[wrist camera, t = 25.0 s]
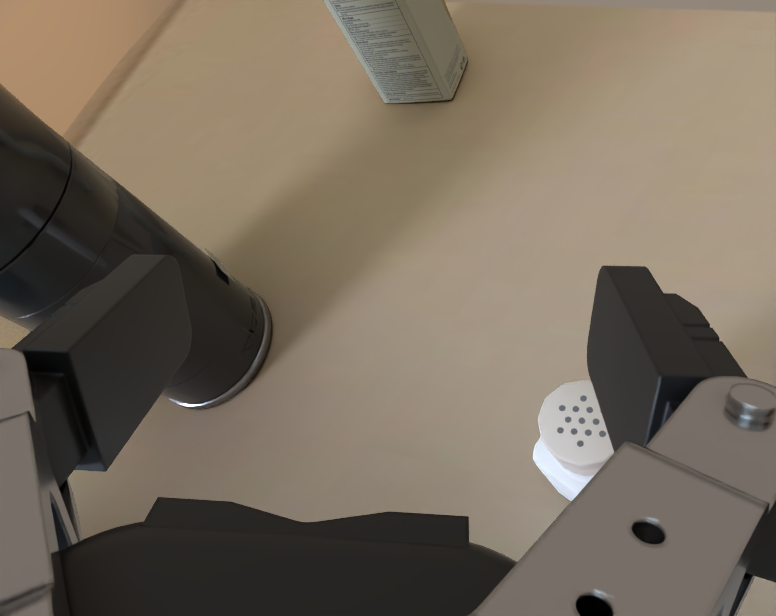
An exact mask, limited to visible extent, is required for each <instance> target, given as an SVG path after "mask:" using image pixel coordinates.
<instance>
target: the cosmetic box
mask: <svg viewBox="0 0 776 616" xmlns="http://www.w3.org/2000/svg"><path fill="white" fill-rule="evenodd" d="M323 1H324V2H325V4H326V6H327V7H328V9H329V11H330V12H331V14H332V16H333V17H334V19H335V21H336V23H337V24H338V26H339V28H340V29H341V31H342V33H343V34H344V36H345V38H346V39H347V41H348V43H349V44H350V46H351V48H352V49H353V51H354V53H355V54H356V56H357V58H358V59H359V61H360V63H361V64H362V66H363V68H364V70H365V71H366V73H367V75H368V76H369V78H370V80H371V81H372V83H373V85H374V86H375V88H376V90H377V91H378V93H379V95H380V96H381V98H382V100H383V101H384V103H406V102H425V101H439V100H451V99H452V98H453V96H454V93H455V91H456V88H457V86H458V84H459V81H460V79H461V76H462V74H463V71H464V68H465V65H466V62H467V59H468V57H467V55H466V52H465V50H464V47H463V45H462V42H461V40H460V38H459V35H458V33H457V30H456V28H455V25H454V23H453V21H452V18H451V16H450V14H449V11H448V9H447V6H446V4H445V1H444V0H323Z"/></svg>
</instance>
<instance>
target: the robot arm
mask: <svg viewBox="0 0 776 616" xmlns="http://www.w3.org/2000/svg"><path fill="white" fill-rule="evenodd" d="M206 250H207V249H206ZM207 252H208V253H209V254H210V256H211V257H212V258H213V260H212V259H211V258H210V257H209V256H207V255H206V254H205V253H204V252H203V251H201V250H200V249H199V248H198V247H196V246H195V245H194V244H193V243H191V242H190V241H189V240H188V239H187V238H185V237H184V236H183V235H182V234H180V233H179V232H178V231H177V230H175V229H174V228H173V227H172V226H171V225H169V224H168V223H167V222H166V221H164V220H163V219H162V218H161V217H159V216H158V215H157V214H156V213H155V212H153V211H152V210H151V209H150V208H148V207H147V206H146V205H145V204H144V203H142V202H141V201H140V200H139V199H137V198H136V197H135V196H134V195H132V194H131V193H130V192H129V191H128V190H126V189H125V188H124V187H123V186H121V185H120V184H119V183H118V182H116V181H115V180H114V179H113V178H112V177H110V176H109V175H108V174H107V173H105V172H104V171H103V170H101V169H100V168H99V167H98V166H97V165H95V164H94V163H93V162H92V161H90V160H89V159H88V158H87V157H85V156H84V155H83V154H82V153H81V152H79V151H78V150H77V149H76V148H74V147H73V146H72V145H71V144H70V143H68V142H67V141H66V140H65V139H64V138H63V137H62V136H60V135H59V134H58V133H57V132H55V131H54V130H53V129H52V128H50V127H49V126H48V125H47V124H45V123H44V122H43V121H42V120H41V119H40V118H38V117H37V116H36V115H35V114H34V113H33V112H31V111H30V110H29V109H28V108H27V107H26V106H25V105H24V104H23V103H21V102H20V101H19V100H18V99H17V98H16V97H15V96H14V95H13V94H11V93H10V92H9V91H8V90H7V89H6V88H5V87H4V86H2V85H1V84H0V316H2V317H4V318H6V319H8V320H10V321H12V322H14V323H16V324H18V325H20V326H22V327H24V328H26V329H28V330H29V331H30V333H29V334H28V335H27V336H26V337H25V338H23V339H22V340H21V341H20V342H19V343H17V344H16V345H15V346H14V347H13V348H11V349H8V348H0V616H736V615H737V613H738V611H739V609H740V607H741V605H742V603H743V601H744V599H745V597H746V595H747V593H748V590H749V588H750V586H751V584H752V582H753V580H754V578H755V576H757V577H760V578H764V579H767V580H770V581H773V582H776V387H775V386H772V385H770V384H767V383H764V382H761V381H758V380H754V379H749V378H748V377H747V376H746V375H745V373H744V372H743V370H742V369H741V368H740V366H739V365H738V363H737V362H736V361H735V359H734V358H733V356H732V355H731V354H730V352H729V351H728V349H727V348H726V346H725V345H724V344H723V342H721V341H719V337H718V335H717V334H716V332H715V331H714V330H713V328H710V324H709V323H708V321H707V320H706V318H705V317H704V315H703V314H702V313H701V311H700V310H699V308H697V307H696V306H694V305H693V304H691V303H690V302H688V301H686V300H685V299H683V298H682V297H680V296H679V295H677V294H664V293H663V292H662V290H661V289H660V287H659V285H658V284H657V282H656V281H655V279H654V278H653V276H652V274H651V273H650V271H649V270H648V268H647V267H640V266H602V267H601V269H600V271H599V274H598V279H597V285H596V291H595V298H594V304H593V311H592V317H591V324H590V330H589V336H588V344H587V365H588V372H589V376H590V379H591V382H592V385H593V388H594V391H595V394H596V397H597V400H598V404H599V407H600V410H601V413H602V416H603V419H604V422H605V425H606V428H607V432H608V435H609V438H610V441H611V444H612V447H613V450H614V454H613V455H612V456H611V457H610V459H609V460H608V461H607V462H606V463H605V464H604V465H603V466H602V468H601V469H600V470H599V471H598V472H597V473H596V474H595V475H594V477H593V478H592V479H591V480H590V481H589V482H588V483H587V485H586V486H585V487H584V488H583V489H582V490H581V491H580V492H579V494H578V495H577V496H576V497H575V498H574V499H573V500H572V501H571V503H570V504H569V505H568V506H567V507H566V508H565V509H564V511H563V512H562V513H561V514H560V515H559V516H558V517H557V518H556V520H555V521H554V522H553V523H552V524H551V525H550V526H549V527H548V529H547V530H546V531H545V532H544V533H543V534H542V535H541V537H540V538H539V539H538V540H537V541H536V542H535V543H534V544H533V546H532V547H531V548H530V549H529V550H528V551H527V552H526V553H525V555H524V556H523V557H522V558H521V559H520V560H519V561H518V562H516V561H514V560H512V559H511V558H509V557H507V556H505V555H503V554H501V553H498V552H496V551H494V550H491V549H489V548H486V547H484V546H481V545H477V544H474V543H471V542H469V518H468V517H467V516H451V515H435V514H419V513H403V512H383V513H376V514H369V515H362V516H354V517H347V518H340V519H333V520H326V521H319V522H309V523H306V522H299V521H295V520H291V519H288V518H285V517H281V516H278V515H274V514H271V513H268V512H264V511H261V510H257V509H254V508H251V507H247V506H244V505H240V504H237V503H234V502H226V501H210V500H194V499H178V498H162V497H158V498H157V500H156V502H155V503H154V505H153V507H152V509H151V510H150V512H149V514H148V516H147V517H146V519H145V521H144V522H138V523H133V524H129V525H125V526H121V527H117V528H114V529H110V530H107V531H104V532H101V533H98V534H96V535H93V536H91V537H89V538H86V539H84V540H83V535H82V531H81V526H80V522H79V517H78V513H77V508H76V504H75V499H74V495H73V491H72V488H71V486H70V483H69V480H68V477H69V475H70V474H71V473H72V472H73V470H88V471H105V472H106V471H107V469H108V468H109V466H110V465H111V464H112V462H113V461H114V459H115V458H116V456H117V455H118V454H119V452H120V451H121V449H122V448H123V447H124V445H125V444H126V442H127V441H128V440H129V438H130V437H131V435H132V434H133V432H134V431H135V430H136V428H137V427H138V425H139V424H140V423H141V421H142V420H143V418H144V417H145V415H146V414H147V413H148V411H149V410H150V408H151V407H152V406H153V404H154V403H155V401H156V400H157V399H158V397H159V396H160V394H162V395H164V396H166V397H167V398H168V399H169V400H171V401H173V402H174V403H176V404H179V405H181V406H183V407H186V408H190V409H206V408H210V407H214V406H216V405H219V404H221V403H223V402H225V401H227V400H228V399H230V398H232V397H233V396H234V395H236V394H237V393H238V392H239V391H241V390H242V389H243V388H244V387H245V386H246V385H247V384H248V383H249V381H250V380H251V379H252V378H253V376H254V375H255V374H256V372H257V371H258V369H259V367H260V366H261V364H262V362H263V360H264V358H265V355H266V353H267V350H268V347H269V343H270V338H271V318H270V314H269V311H268V308H267V306H266V304H265V303H264V301H263V300H262V299H261V298H260V297H259V296H258V295H257V294H256V293H255V292H253V291H252V290H251V289H249V288H248V287H245V286H244V285H243V284H241V283H240V282H239V281H238V280H237V279H235V278H234V277H233V276H232V275H230V274H229V273H228V271H227V270H226V269H225V268H224V266H223V265H222V264H221V262H220V261H219V260H218V259H217V258H216V257H215V256H214V255H213V254H211V253H210V252H209V251H208V250H207Z"/></svg>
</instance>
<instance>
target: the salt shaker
mask: <svg viewBox="0 0 776 616" xmlns="http://www.w3.org/2000/svg"><path fill="white" fill-rule="evenodd" d="M538 423H539V429H540V435H541V437H540V438H539V440H538V442H537V443H536V445H535V447H534V453H533V460H534V461H535V463H536V465H537V467H538V468H539V469H540V470H541V471H542V473H543V474H544V475H545V476H546V477H547V479H548V480H549V481H550V482H551V483H552V485H553V486H554V487H555V488H556V489H557V491H558V492H559V493H560V494H561V495H563V496H564V497H565V498H567V499H568V500H570V501H572V500H573V499H574V498H575V497H576V496H577V495H578V494H579V492H580V491H581V490H582V489H583V488H584V487H585V486H586V485H587V483H588V482H589V481H590V480H591V479H592V478H593V477H594V475H595V474H596V473H597V472H598V471H599V470H600V469H601V468H602V466H603V465H604V464H605V463H606V462H607V461H608V460H609V459H610V457H611V456H612V455H613V454H614V450H613V447H612V444H611V441H610V438H609V435H608V432H607V428H606V425H605V422H604V419H603V416H602V413H601V410H600V407H599V404H598V400H597V397H596V394H595V391H594V388H593V385H592V382H591V381H589V380H580V381H575V382H570V383H565V384H562V385H561V386H559V387H558V388H557V389H556V390H554V391H553V392H552V393H551V394H550V395H548V396H547V397H546V398H545V400H544V403H543V405H542V408H541V410H540V413H539V416H538Z"/></svg>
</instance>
